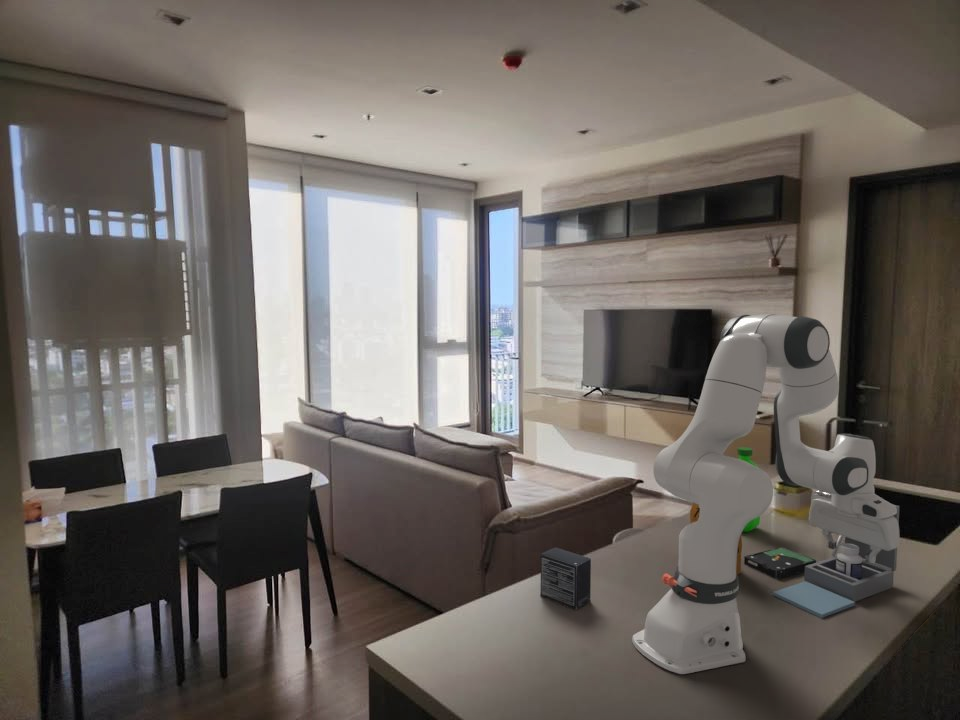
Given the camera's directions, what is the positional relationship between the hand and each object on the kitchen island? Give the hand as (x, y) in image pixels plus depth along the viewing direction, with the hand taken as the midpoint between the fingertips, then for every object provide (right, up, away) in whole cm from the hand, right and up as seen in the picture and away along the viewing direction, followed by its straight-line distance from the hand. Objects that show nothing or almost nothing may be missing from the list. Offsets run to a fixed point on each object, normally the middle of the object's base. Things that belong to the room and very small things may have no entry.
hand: (850, 554), depth 148 cm
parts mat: (-13, -8, -7) cm, 17 cm away
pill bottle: (0, -8, +1) cm, 8 cm away
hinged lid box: (0, -7, +1) cm, 7 cm away
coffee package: (-29, -7, +10) cm, 32 cm away
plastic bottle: (-10, -4, +38) cm, 40 cm away
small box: (-70, -9, -5) cm, 71 cm away
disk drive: (-12, -7, +12) cm, 18 cm away
